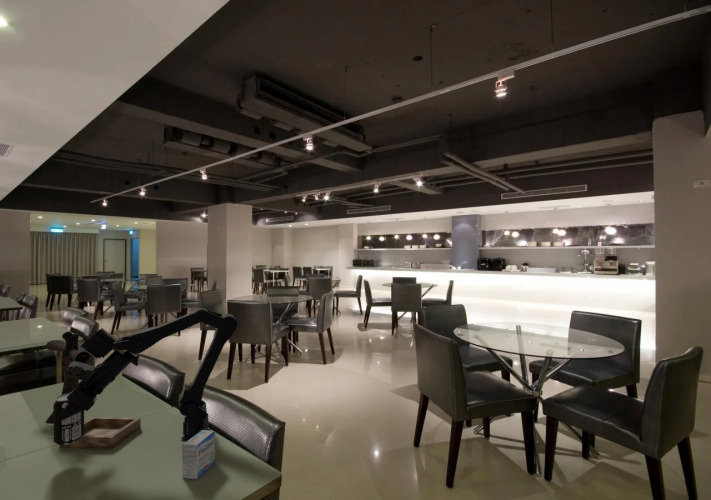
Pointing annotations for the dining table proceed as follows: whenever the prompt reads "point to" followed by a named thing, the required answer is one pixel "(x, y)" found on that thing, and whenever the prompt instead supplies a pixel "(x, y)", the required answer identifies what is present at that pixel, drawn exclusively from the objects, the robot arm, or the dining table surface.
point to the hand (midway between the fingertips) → (62, 414)
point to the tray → (105, 432)
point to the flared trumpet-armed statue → (68, 359)
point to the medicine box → (198, 454)
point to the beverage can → (66, 423)
